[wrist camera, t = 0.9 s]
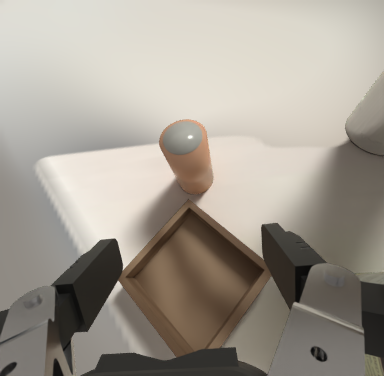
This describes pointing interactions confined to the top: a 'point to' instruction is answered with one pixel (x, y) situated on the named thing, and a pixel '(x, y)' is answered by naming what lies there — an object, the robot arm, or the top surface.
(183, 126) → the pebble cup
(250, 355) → the top surface
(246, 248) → the walnut tray
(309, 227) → the top surface
